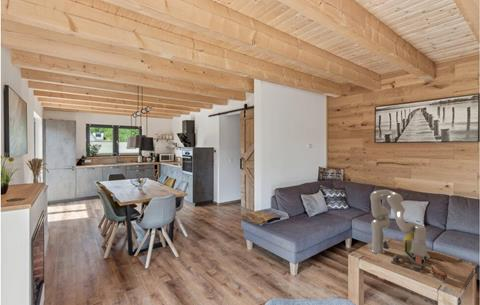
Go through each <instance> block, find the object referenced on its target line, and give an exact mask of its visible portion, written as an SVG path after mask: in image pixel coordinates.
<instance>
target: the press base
mask: <svg viewBox="0 0 480 305" xmlns="http://www.w3.org/2000/svg"><path fill="white" fill-rule="evenodd" d="M399 259H402V260H403V263H402V264H401V263H399ZM390 263H391V265H394V266H399V267H401V268H404V269H407V270H411V271H413V272H416V273H420V274H423V273H424V272H425V269H426V265H424V264H423V268H422V270H418V269H415V268H413V264H414V262H412V261H411V260H407V259H403V258H401V257H399V254H397V253H395V254H394V255H393V257H392V260H391V261H390Z"/></svg>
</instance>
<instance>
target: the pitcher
mask: <svg viewBox="0 0 480 305" xmlns="http://www.w3.org/2000/svg"><path fill="white" fill-rule="evenodd" d="M412 238H414V232H410V233H406V235H405V236H404V237H403V241H402V243H403V244H402V245H403V247H404V248H405V240H411V241H414V240H413V239H412Z"/></svg>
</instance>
